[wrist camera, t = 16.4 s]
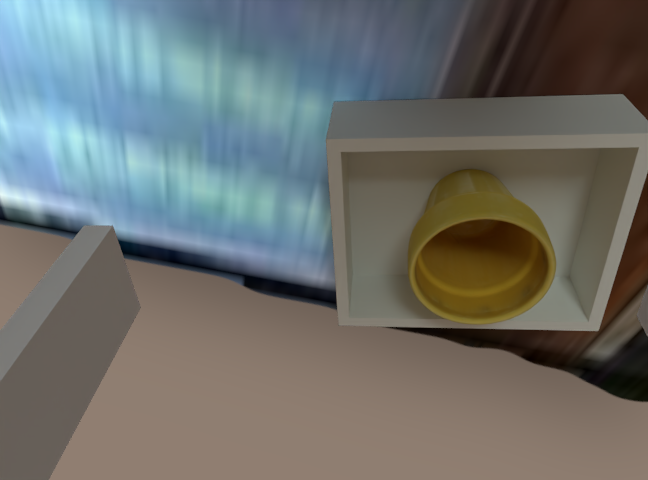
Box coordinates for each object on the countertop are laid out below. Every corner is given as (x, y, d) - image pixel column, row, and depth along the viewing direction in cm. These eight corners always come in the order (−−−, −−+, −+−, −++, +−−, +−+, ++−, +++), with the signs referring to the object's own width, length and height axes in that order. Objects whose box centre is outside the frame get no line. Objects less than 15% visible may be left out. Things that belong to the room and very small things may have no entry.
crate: (333, 101, 44) (325, 139, 39) (622, 94, 42) (659, 133, 36) (343, 276, 55) (338, 325, 49) (575, 278, 52) (598, 330, 47)
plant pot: (416, 259, 52) (421, 335, 44) (394, 162, 46) (395, 229, 38) (532, 240, 49) (560, 317, 41) (523, 136, 44) (554, 201, 36)
